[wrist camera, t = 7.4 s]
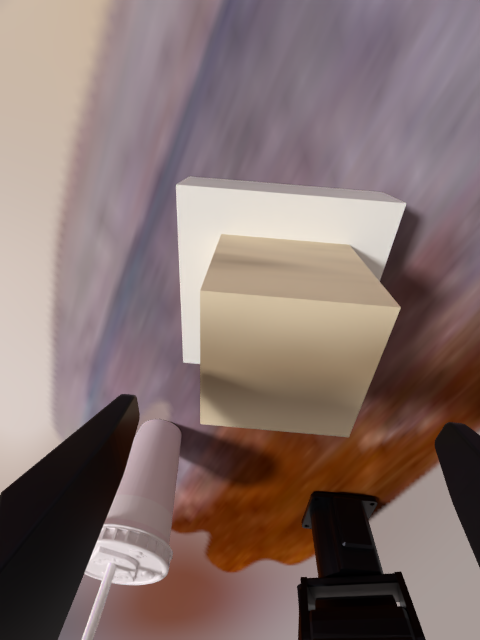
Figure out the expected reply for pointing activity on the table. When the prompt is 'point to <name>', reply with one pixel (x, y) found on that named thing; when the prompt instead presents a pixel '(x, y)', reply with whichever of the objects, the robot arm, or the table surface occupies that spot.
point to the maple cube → (289, 335)
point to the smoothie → (138, 517)
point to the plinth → (273, 228)
